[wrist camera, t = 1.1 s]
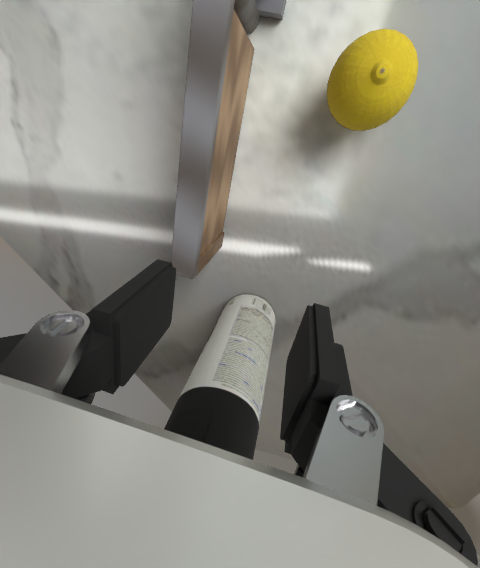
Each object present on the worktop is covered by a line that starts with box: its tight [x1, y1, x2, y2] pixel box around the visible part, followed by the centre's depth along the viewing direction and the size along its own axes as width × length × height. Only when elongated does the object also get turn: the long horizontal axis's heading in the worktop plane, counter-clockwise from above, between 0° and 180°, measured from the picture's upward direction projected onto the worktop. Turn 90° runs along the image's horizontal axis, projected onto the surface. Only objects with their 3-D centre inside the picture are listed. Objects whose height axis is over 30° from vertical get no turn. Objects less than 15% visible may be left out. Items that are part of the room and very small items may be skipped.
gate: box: [171, 0, 259, 279], centre depth 22 cm, size 20×2×9 cm, turn 169°
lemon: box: [327, 29, 418, 131], centre depth 19 cm, size 6×6×8 cm
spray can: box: [164, 294, 275, 460], centre depth 26 cm, size 7×7×20 cm
